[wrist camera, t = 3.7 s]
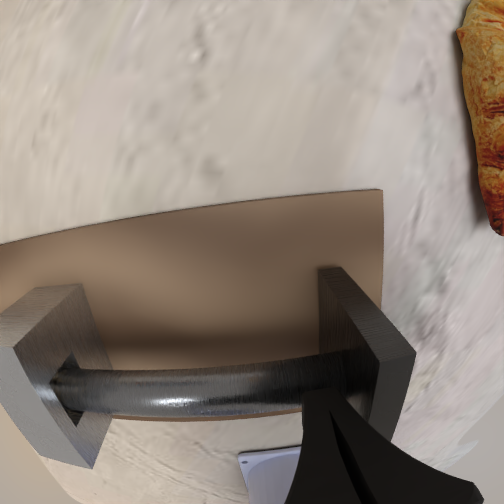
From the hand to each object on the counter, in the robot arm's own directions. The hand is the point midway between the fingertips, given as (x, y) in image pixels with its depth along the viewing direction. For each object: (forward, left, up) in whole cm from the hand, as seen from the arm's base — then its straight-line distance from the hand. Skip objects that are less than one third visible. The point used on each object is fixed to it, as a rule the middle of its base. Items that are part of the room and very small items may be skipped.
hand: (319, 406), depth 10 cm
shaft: (0, +6, -5) cm, 8 cm away
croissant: (+14, -17, -7) cm, 23 cm away
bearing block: (0, +13, -7) cm, 15 cm away
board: (0, +8, -7) cm, 11 cm away
